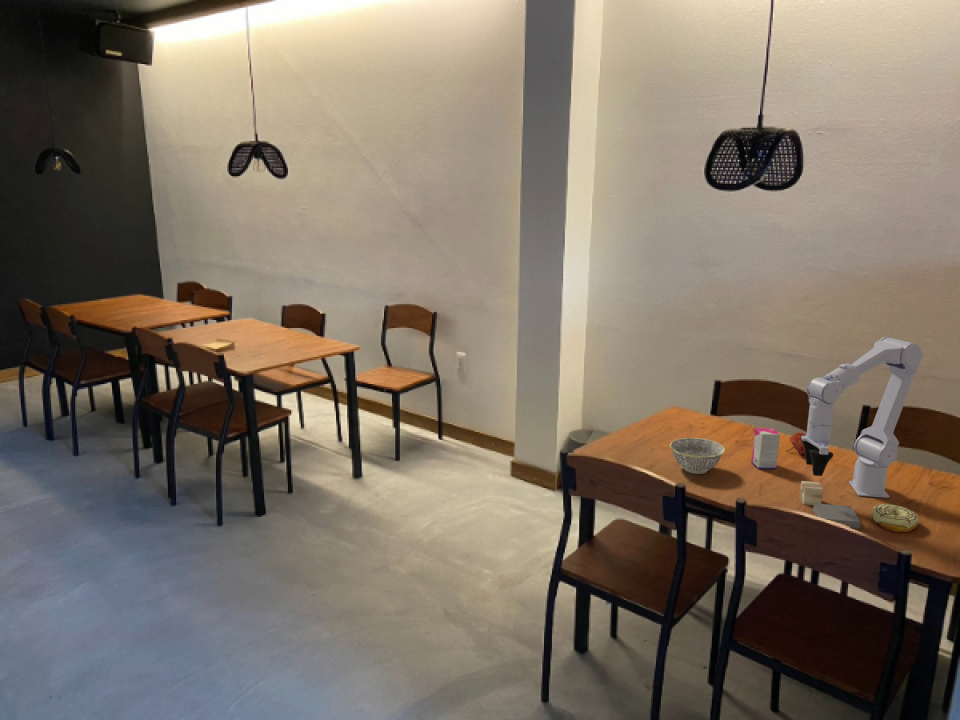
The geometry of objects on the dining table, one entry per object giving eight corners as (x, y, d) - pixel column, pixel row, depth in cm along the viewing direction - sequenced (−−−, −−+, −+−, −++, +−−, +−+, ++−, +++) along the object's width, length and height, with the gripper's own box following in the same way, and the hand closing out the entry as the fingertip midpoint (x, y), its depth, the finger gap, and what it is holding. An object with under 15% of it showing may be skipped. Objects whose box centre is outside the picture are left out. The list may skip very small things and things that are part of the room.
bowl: (662, 474, 214) (664, 450, 212) (675, 456, 228) (676, 434, 226) (717, 484, 207) (719, 460, 205) (726, 465, 221) (728, 442, 219)
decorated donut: (868, 527, 181) (870, 514, 181) (872, 511, 190) (874, 498, 189) (916, 538, 176) (918, 524, 175) (917, 520, 185) (919, 507, 184)
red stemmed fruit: (790, 463, 228) (820, 449, 223) (777, 443, 229) (806, 429, 224) (793, 458, 234) (821, 444, 229) (780, 438, 235) (808, 424, 231)
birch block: (799, 497, 198) (801, 481, 197) (816, 498, 197) (818, 482, 196) (803, 504, 194) (805, 487, 193) (820, 506, 193) (823, 489, 192)
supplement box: (777, 469, 217) (780, 434, 214) (757, 469, 217) (761, 434, 214) (769, 462, 223) (773, 427, 220) (750, 462, 223) (754, 427, 220)
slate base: (813, 510, 191) (813, 503, 190) (849, 513, 189) (850, 506, 188) (821, 525, 182) (822, 518, 182) (859, 528, 180) (860, 521, 180)
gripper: (797, 413, 198) (792, 458, 201) (810, 430, 184) (804, 479, 187) (824, 414, 196) (819, 460, 200) (839, 432, 182) (833, 481, 186)
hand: (814, 469), depth 193 cm, fingers open, 7 cm apart
